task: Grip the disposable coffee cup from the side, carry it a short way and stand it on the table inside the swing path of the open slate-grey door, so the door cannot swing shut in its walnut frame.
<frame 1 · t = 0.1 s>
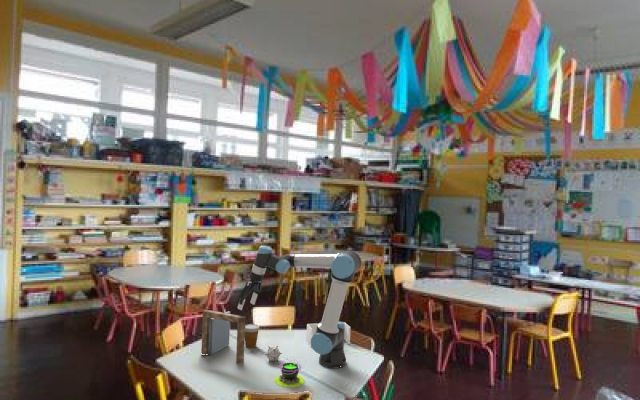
hand: (245, 306, 259), 28 cm above the table, tool tilted 20°, fingers open, 13 cm apart
door: (217, 332, 265), point 11 cm above the table, hinge at 90.0°
toy cauldron: (289, 381, 229), on the table
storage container: (327, 343, 286), on the table
door frame: (222, 358, 253), on the table
game die: (273, 361, 253), on the table
disposable coffee cup: (250, 346, 274), on the table
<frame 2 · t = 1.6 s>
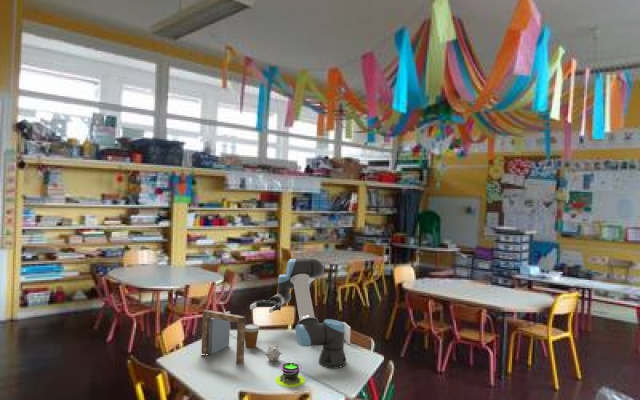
hand: (259, 309, 282), 20 cm above the table, tool horizontal, fingers open, 13 cm apart
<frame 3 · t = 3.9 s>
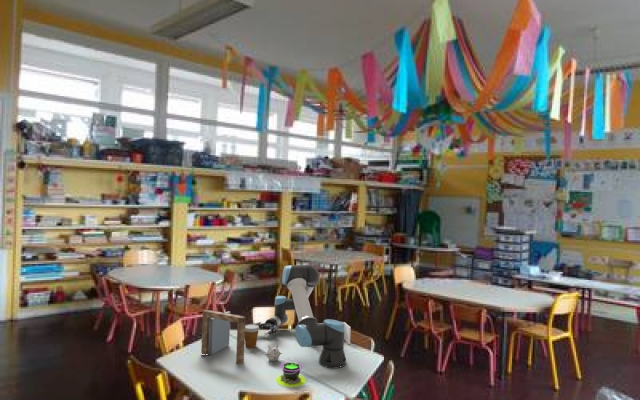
hand: (255, 332, 279), 6 cm above the table, tool horizontal, fingers open, 13 cm apart
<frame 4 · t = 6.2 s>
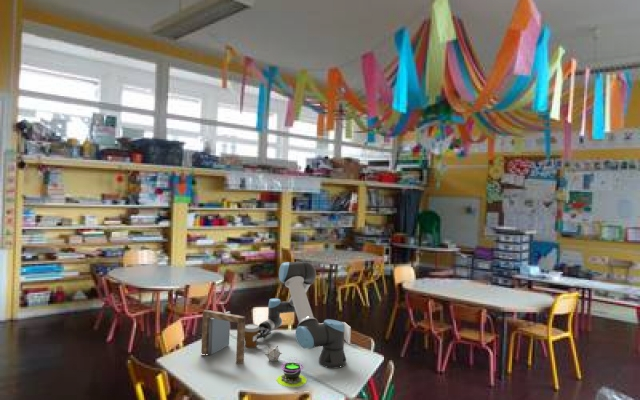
hand: (246, 337, 269), 7 cm above the table, tool horizontal, fingers closed on disposable coffee cup, 8 cm apart
disposable coffee cup: (250, 346, 274), on the table, touching gripper
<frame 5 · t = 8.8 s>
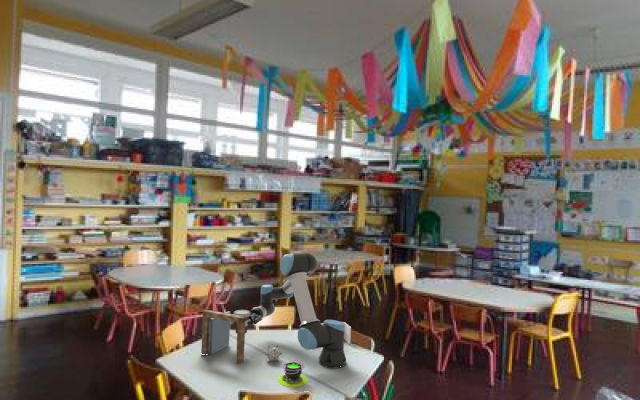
hand: (236, 323, 259), 18 cm above the table, tool horizontal, fingers closed on disposable coffee cup, 8 cm apart
disposable coffee cup: (241, 332, 264), point 11 cm above the table, touching gripper
when the fingers open (7 cm above the table, at t = 11.9 s): disposable coffee cup moves 2 cm, on the table.
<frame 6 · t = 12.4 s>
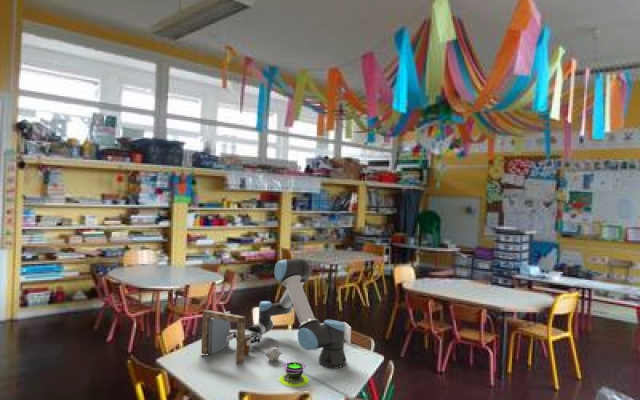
hand: (236, 341, 260), 7 cm above the table, tool horizontal, fingers open, 13 cm apart
disposable coffee cup: (243, 353, 262), on the table, touching gripper
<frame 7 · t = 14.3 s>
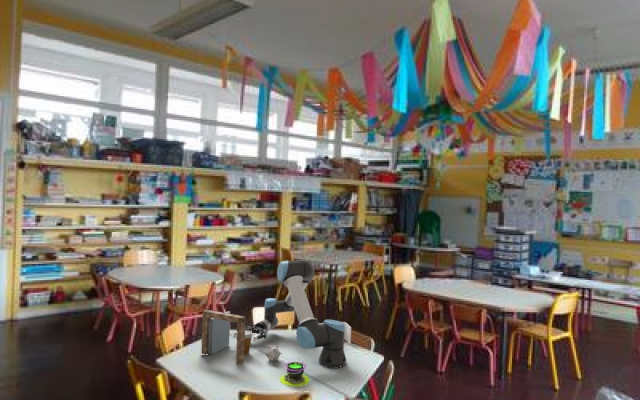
hand: (244, 337, 267), 8 cm above the table, tool horizontal, fingers open, 13 cm apart
disposable coffee cup: (243, 353, 263), on the table
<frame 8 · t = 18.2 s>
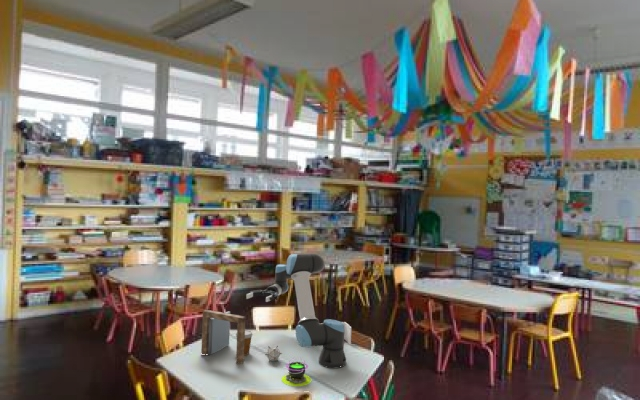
hand: (256, 298, 277), 28 cm above the table, tool horizontal, fingers open, 13 cm apart
at the end: disposable coffee cup inside the target area (2.2 cm from its centre), on the table; disposable coffee cup tilted 0°; door at +90° (first picture: +90°) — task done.
